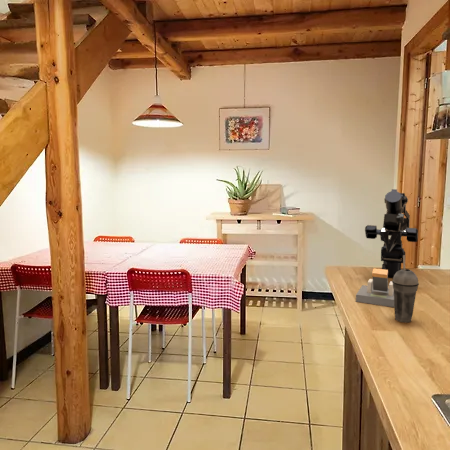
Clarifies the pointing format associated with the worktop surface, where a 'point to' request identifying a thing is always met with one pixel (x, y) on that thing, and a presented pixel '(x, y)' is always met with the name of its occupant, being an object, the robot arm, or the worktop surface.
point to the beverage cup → (404, 293)
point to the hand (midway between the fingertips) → (388, 251)
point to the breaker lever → (380, 279)
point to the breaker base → (376, 295)
